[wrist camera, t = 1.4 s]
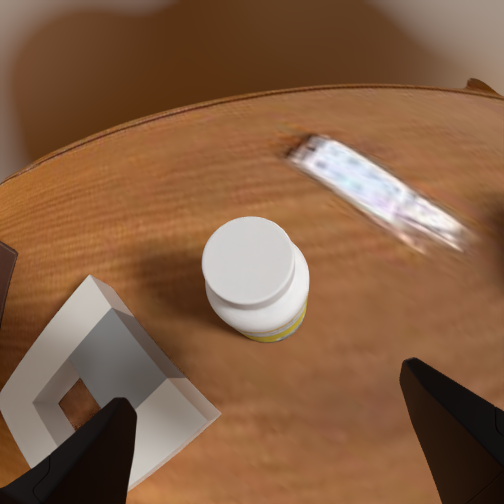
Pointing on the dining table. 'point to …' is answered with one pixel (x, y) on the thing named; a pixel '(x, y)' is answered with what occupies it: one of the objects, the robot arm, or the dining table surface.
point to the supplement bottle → (256, 279)
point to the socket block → (102, 382)
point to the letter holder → (5, 272)
